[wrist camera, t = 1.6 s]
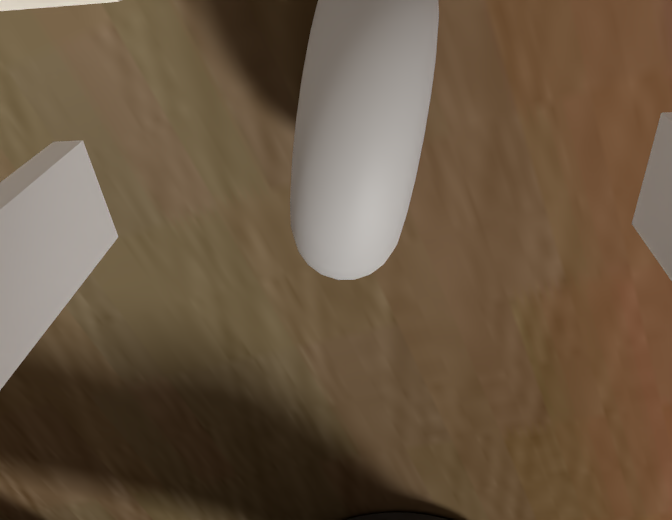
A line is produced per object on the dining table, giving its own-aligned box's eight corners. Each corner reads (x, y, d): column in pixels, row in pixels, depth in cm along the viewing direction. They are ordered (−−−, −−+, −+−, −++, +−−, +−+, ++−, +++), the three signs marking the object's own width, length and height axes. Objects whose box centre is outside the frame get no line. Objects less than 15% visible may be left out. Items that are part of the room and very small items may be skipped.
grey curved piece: (338, -75, 18) (297, -51, 10) (438, -61, 18) (478, -25, 10) (311, 186, 24) (271, 339, 16) (388, 197, 24) (388, 355, 16)
